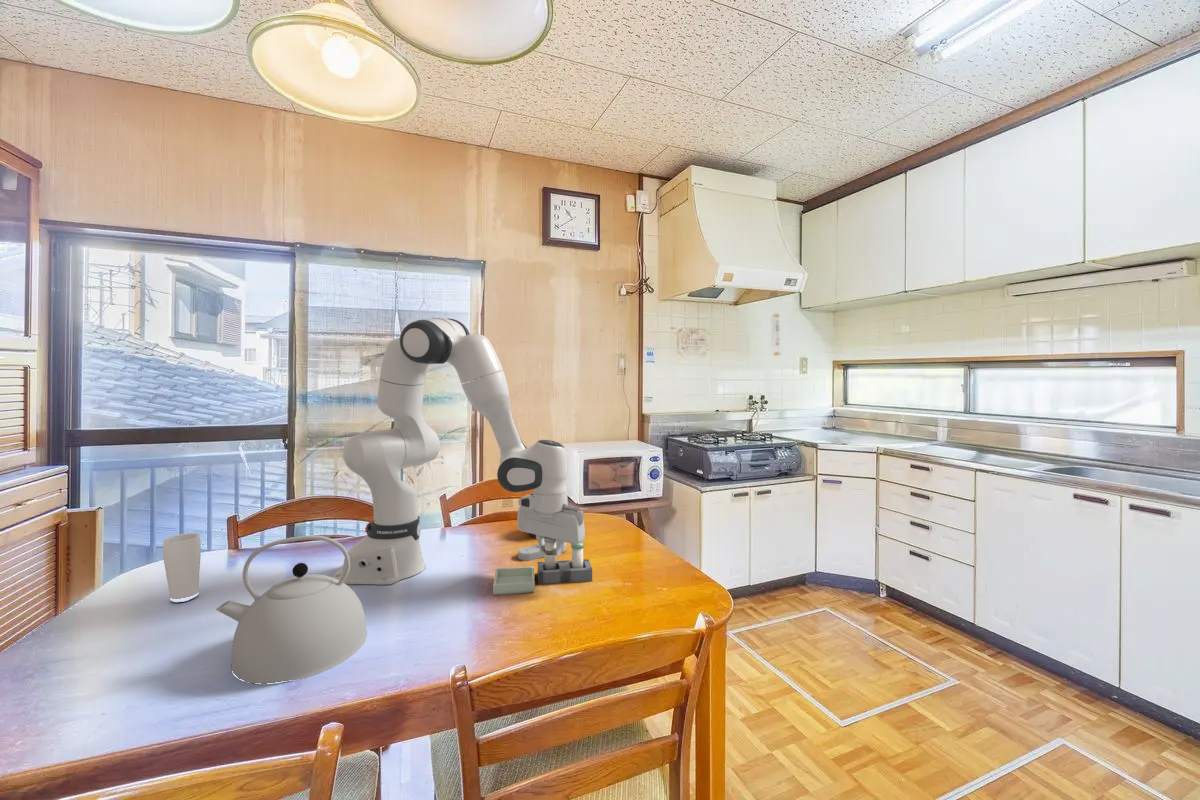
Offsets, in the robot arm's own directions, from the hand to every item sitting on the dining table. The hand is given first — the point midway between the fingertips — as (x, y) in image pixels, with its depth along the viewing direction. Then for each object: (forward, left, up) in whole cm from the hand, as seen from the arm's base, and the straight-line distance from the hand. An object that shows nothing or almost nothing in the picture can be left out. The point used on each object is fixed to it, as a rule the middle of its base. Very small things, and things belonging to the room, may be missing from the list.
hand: (550, 552), depth 128 cm
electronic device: (-1, +17, -7) cm, 18 cm away
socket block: (+4, -1, -7) cm, 8 cm away
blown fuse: (0, 0, -5) cm, 5 cm away
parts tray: (-9, -4, -7) cm, 12 cm away
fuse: (+7, -1, -7) cm, 10 cm away
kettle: (-51, -26, -7) cm, 58 cm away
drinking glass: (-87, 0, -7) cm, 88 cm away
